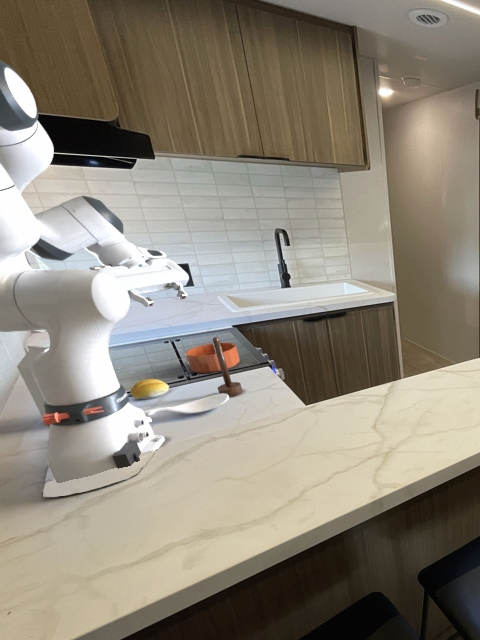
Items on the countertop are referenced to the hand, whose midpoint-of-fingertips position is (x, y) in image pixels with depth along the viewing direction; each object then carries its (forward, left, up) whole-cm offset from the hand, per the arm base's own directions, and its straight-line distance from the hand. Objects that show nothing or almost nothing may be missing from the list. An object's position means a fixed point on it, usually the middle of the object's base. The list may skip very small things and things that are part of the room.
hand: (168, 301), depth 108 cm
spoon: (-19, +7, -26) cm, 33 cm away
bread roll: (+3, +11, -26) cm, 29 cm away
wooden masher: (-9, -9, -26) cm, 29 cm away
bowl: (+20, -4, -26) cm, 33 cm away
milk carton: (-4, +26, -26) cm, 37 cm away
